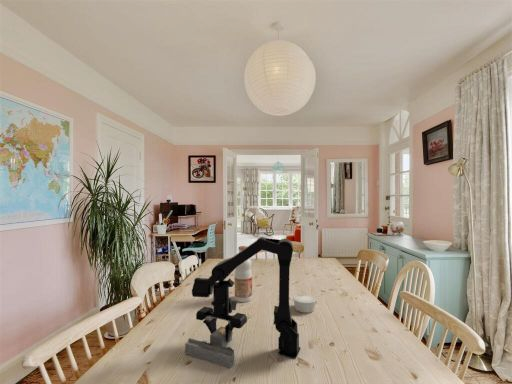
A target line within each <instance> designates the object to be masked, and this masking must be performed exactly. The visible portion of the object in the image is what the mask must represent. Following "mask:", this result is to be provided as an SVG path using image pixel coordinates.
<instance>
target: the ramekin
mask: <svg viewBox="0 0 512 384" xmlns="http://www.w3.org/2000/svg"><path fill="white" fill-rule="evenodd" d="M292 299H293V305H294V309H295V310H296V311H298V312H300V313H305V314H309V313H313V311H315V309H316V303H317V298H316V297H315V296H313V295H310V294H296V295H294V296H293V298H292Z"/></svg>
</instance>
